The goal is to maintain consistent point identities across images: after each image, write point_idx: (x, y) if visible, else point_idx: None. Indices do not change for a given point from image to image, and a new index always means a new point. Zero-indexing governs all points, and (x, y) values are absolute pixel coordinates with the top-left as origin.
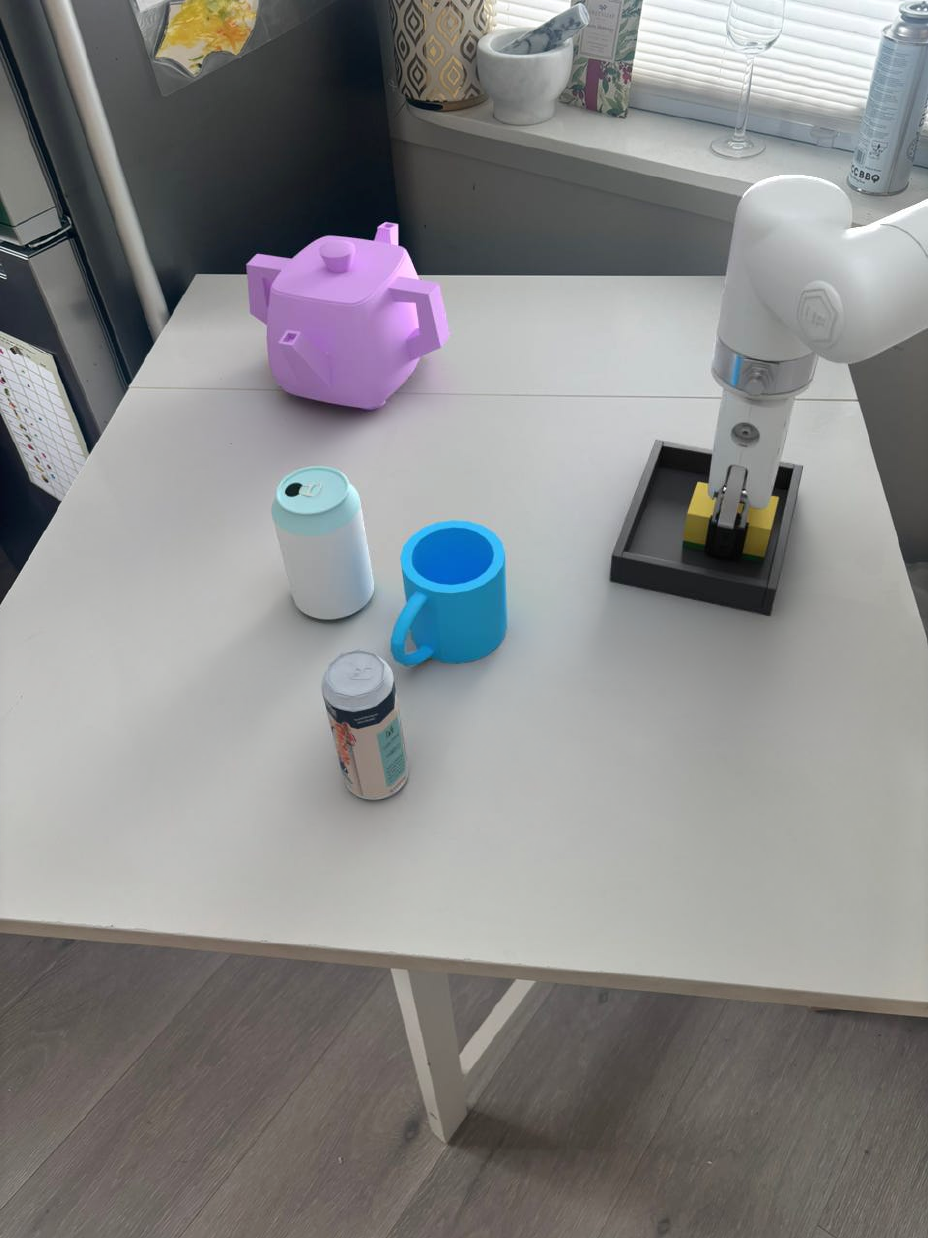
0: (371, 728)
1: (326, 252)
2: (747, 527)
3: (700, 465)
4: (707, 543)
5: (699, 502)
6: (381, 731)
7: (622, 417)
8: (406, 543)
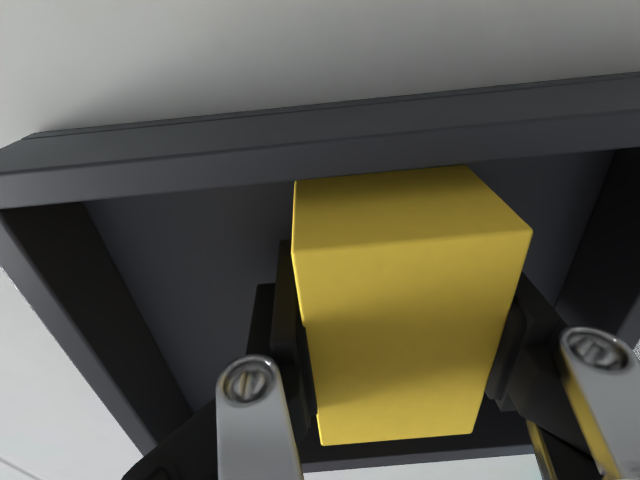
0: None
1: None
2: (555, 315)
3: (158, 384)
4: None
5: (417, 426)
6: None
7: (92, 468)
8: None
